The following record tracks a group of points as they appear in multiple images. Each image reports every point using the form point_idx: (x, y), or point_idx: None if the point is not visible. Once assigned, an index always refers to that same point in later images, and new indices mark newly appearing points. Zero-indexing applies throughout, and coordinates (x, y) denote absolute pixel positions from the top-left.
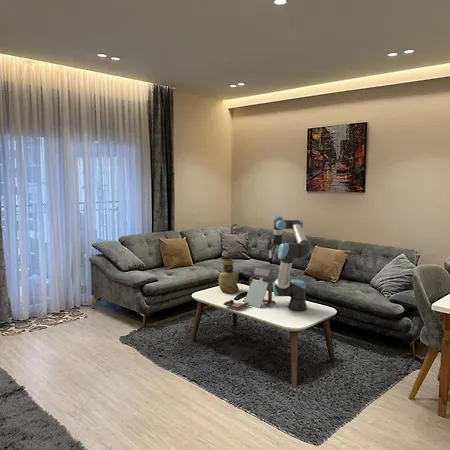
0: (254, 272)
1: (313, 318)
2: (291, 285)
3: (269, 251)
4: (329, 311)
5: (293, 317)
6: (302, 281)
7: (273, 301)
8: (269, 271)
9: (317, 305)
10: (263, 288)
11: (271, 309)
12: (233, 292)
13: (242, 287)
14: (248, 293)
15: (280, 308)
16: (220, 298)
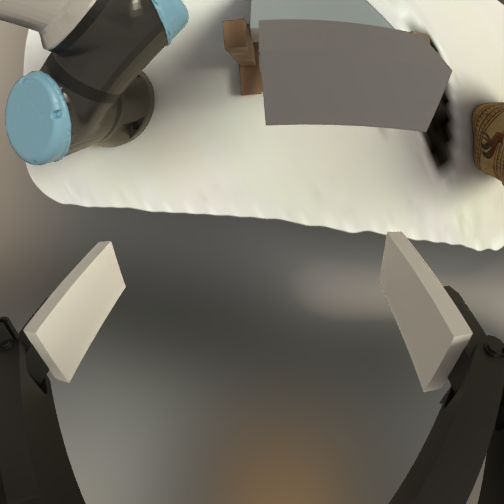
0: (424, 41)
1: (34, 69)
2: (48, 57)
3: (456, 312)
4: (35, 171)
5: None
6: (20, 149)
7: (241, 82)
8: (261, 42)
9: (88, 198)
10: (276, 12)
11: (197, 6)
12: (475, 110)
13: (474, 220)
14: (362, 2)
15: (171, 45)
16: (472, 27)
